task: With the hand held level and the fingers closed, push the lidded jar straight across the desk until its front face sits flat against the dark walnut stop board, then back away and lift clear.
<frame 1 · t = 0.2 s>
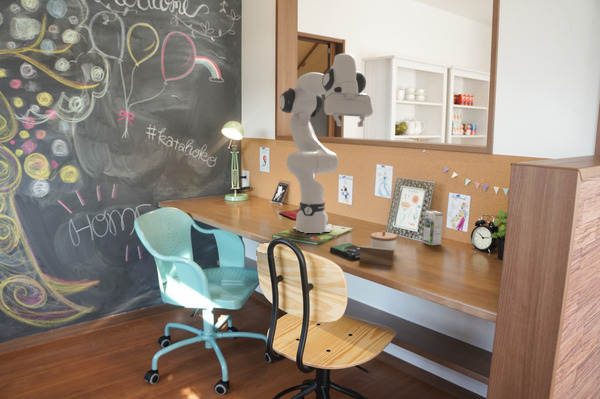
hand: (350, 126, 185), 51 cm above the table, tool tilted 20°, fingers open, 8 cm apart
walnut stop board: (376, 263, 178), on the table
disk drive: (350, 255, 190), on the table
syrup box: (431, 244, 208), on the table
lidded jar: (382, 253, 191), on the table
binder: (298, 217, 263), on the table
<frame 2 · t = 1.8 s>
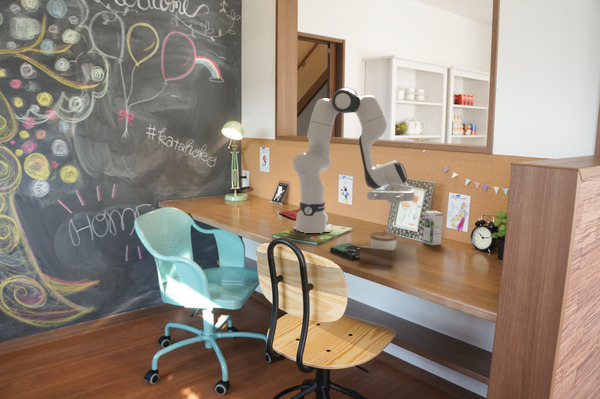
hand: (386, 198, 196), 22 cm above the table, tool horizontal, fingers open, 8 cm apart
nothing on the table moved.
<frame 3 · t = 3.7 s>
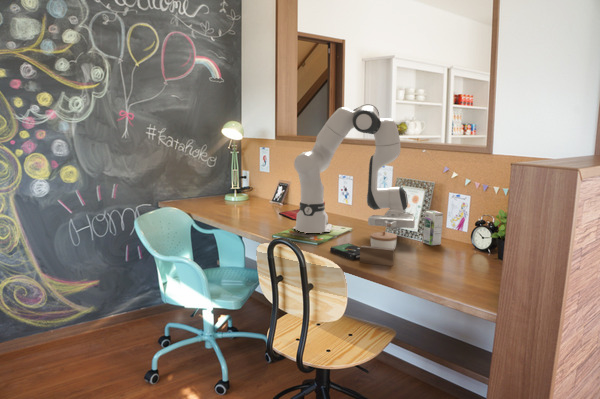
hand: (388, 225, 199), 10 cm above the table, tool horizontal, fingers closed
nothing on the table moved.
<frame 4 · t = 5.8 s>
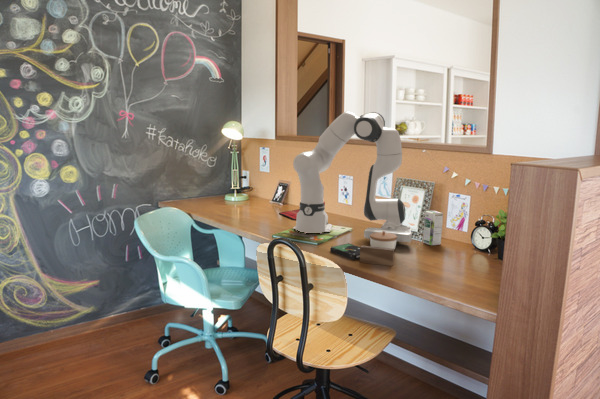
hand: (385, 239, 194), 5 cm above the table, tool horizontal, fingers closed, pressing on lidded jar
lidded jar: (382, 254, 190), on the table, touching gripper
everything else where it was.
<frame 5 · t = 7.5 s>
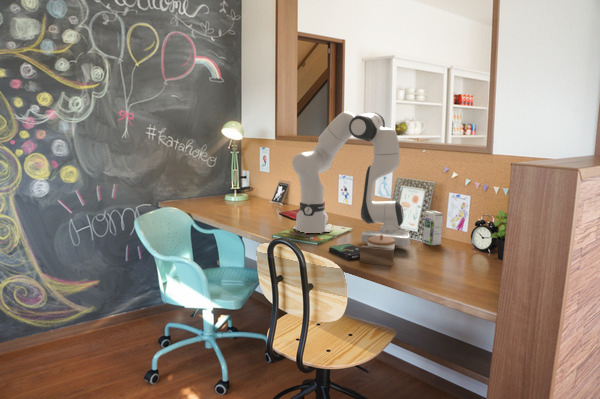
hand: (382, 242, 188), 5 cm above the table, tool horizontal, fingers closed, pressing on lidded jar
disk drive: (348, 256, 189), on the table
lidded jar: (380, 258, 184), on the table, touching gripper
everything else where it was.
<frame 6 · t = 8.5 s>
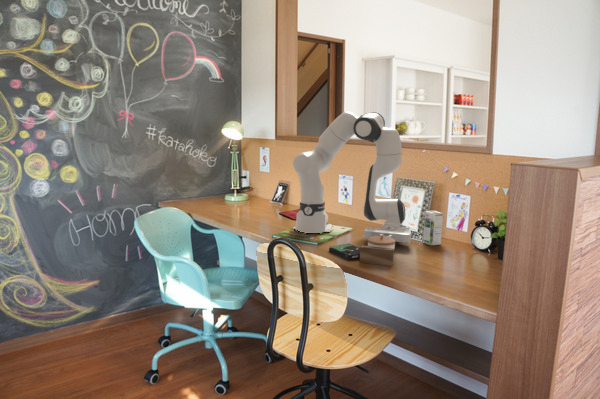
hand: (384, 239, 194), 5 cm above the table, tool horizontal, fingers closed
lidded jar: (380, 258, 184), on the table
everything else where it was.
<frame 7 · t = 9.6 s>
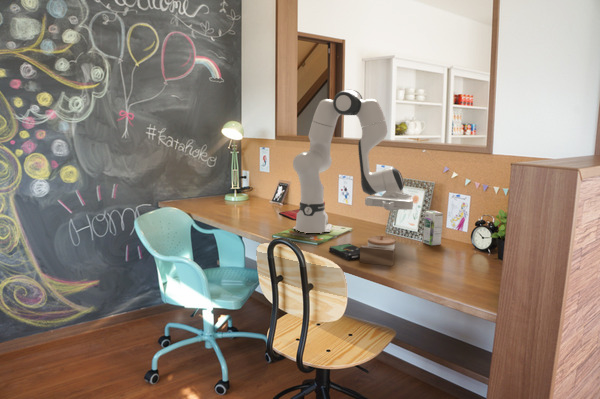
hand: (386, 205, 193), 19 cm above the table, tool horizontal, fingers closed
nothing on the table moved.
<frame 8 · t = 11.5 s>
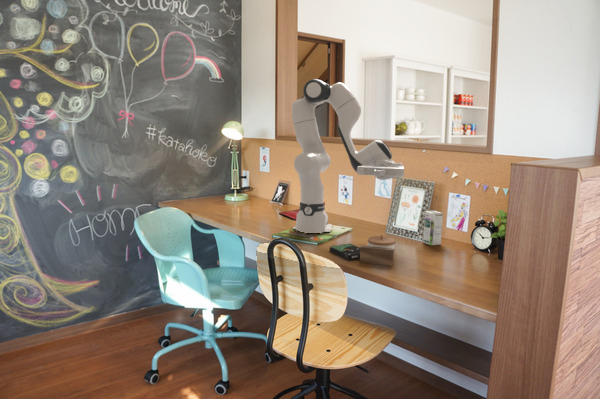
hand: (377, 172, 196), 32 cm above the table, tool horizontal, fingers closed
nothing on the table moved.
at the end: lidded jar 0.5 cm from the target spot on the table beside the walnut stop board, on the table; lidded jar tilted 0° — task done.
